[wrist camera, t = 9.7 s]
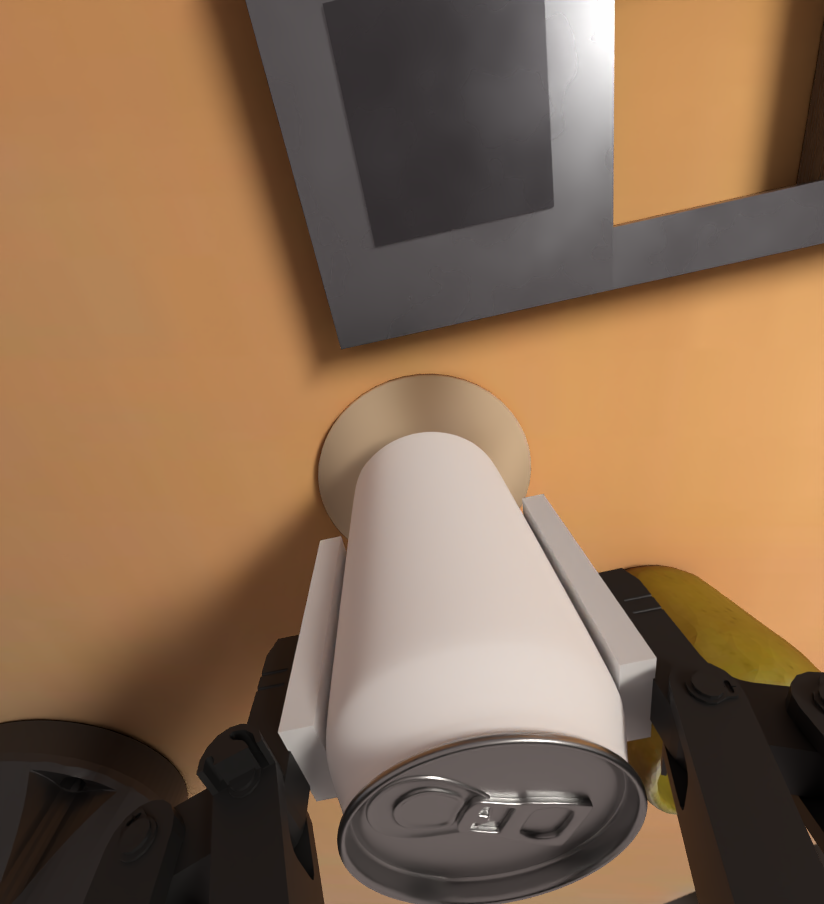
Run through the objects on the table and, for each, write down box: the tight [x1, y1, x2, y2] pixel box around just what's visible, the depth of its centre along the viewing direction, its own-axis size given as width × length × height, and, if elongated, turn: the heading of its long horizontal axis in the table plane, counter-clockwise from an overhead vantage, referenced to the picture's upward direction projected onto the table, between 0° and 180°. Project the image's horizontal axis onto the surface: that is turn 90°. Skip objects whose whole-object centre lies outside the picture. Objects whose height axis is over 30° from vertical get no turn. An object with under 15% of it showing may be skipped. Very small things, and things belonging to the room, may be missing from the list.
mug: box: [625, 565, 821, 814], centre depth 22 cm, size 12×10×10 cm
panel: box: [246, 0, 824, 349], centre depth 13 cm, size 28×12×2 cm, turn 101°
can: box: [326, 432, 647, 904], centre depth 13 cm, size 6×6×12 cm
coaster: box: [318, 374, 531, 539], centre depth 20 cm, size 10×10×1 cm
